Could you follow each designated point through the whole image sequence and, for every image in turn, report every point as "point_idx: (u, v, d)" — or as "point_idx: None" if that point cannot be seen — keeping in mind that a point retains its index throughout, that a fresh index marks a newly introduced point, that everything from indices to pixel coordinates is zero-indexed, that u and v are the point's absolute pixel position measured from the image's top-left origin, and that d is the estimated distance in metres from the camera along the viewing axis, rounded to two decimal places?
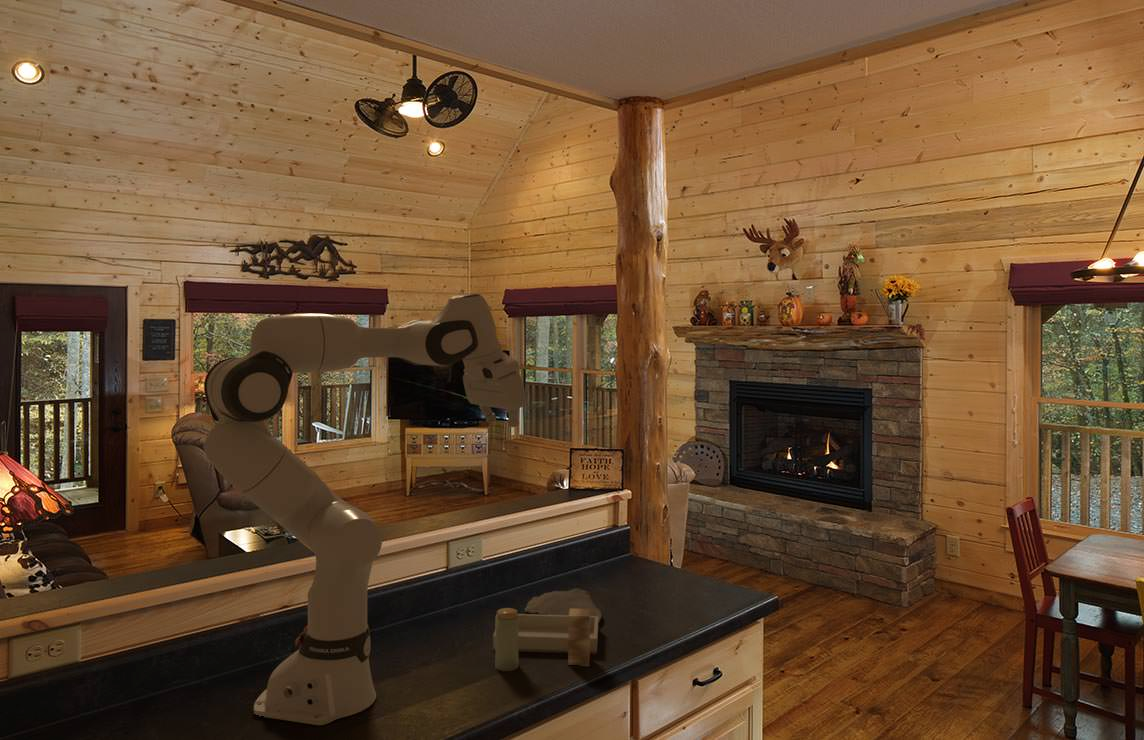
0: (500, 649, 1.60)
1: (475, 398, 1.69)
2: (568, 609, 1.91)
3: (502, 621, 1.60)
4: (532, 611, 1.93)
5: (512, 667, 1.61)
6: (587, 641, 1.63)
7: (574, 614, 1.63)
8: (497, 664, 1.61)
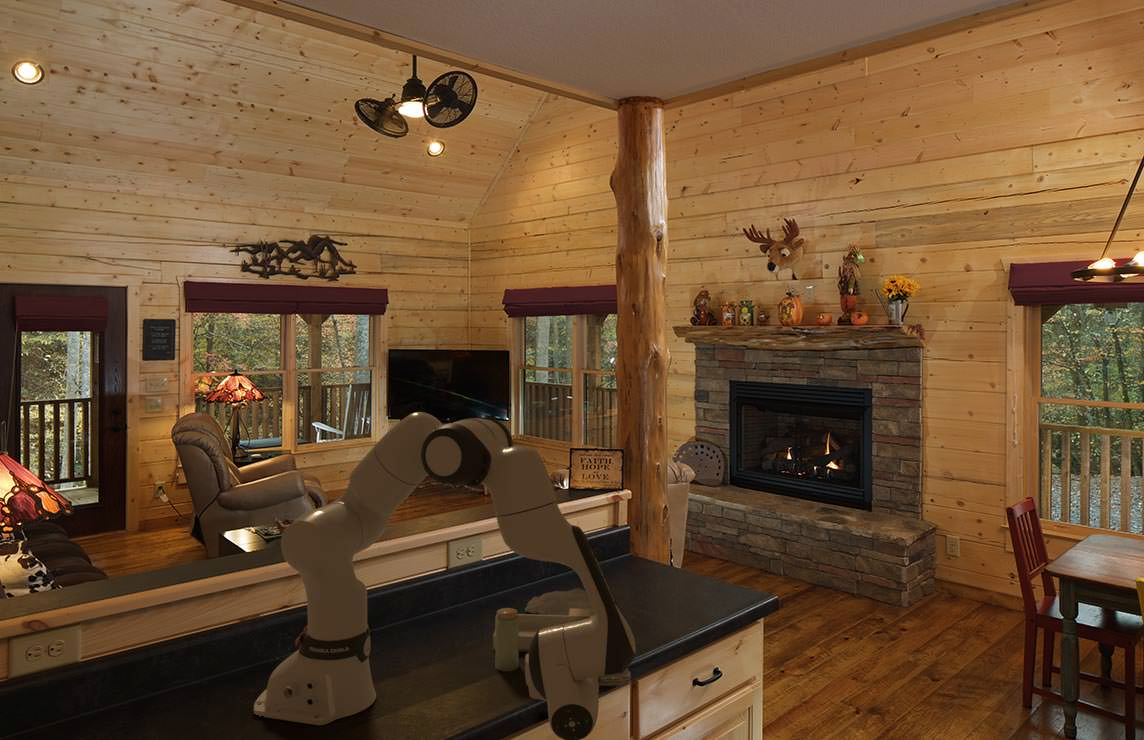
0: (500, 649, 1.60)
1: None
2: (568, 609, 1.91)
3: (502, 621, 1.60)
4: (532, 611, 1.93)
5: (512, 667, 1.61)
6: None
7: (574, 614, 1.63)
8: (497, 664, 1.61)
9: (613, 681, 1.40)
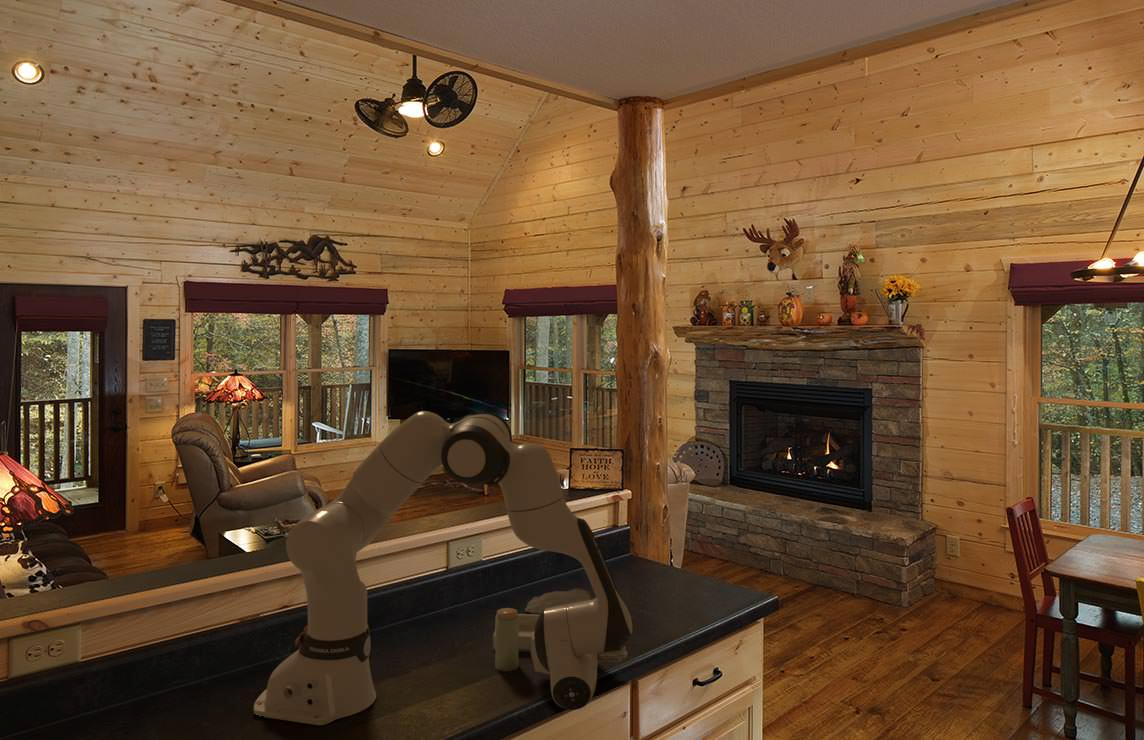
0: (500, 649, 1.60)
1: None
2: None
3: (502, 621, 1.60)
4: (532, 611, 1.93)
5: (512, 667, 1.61)
6: None
7: None
8: (497, 664, 1.61)
9: (611, 658, 1.52)
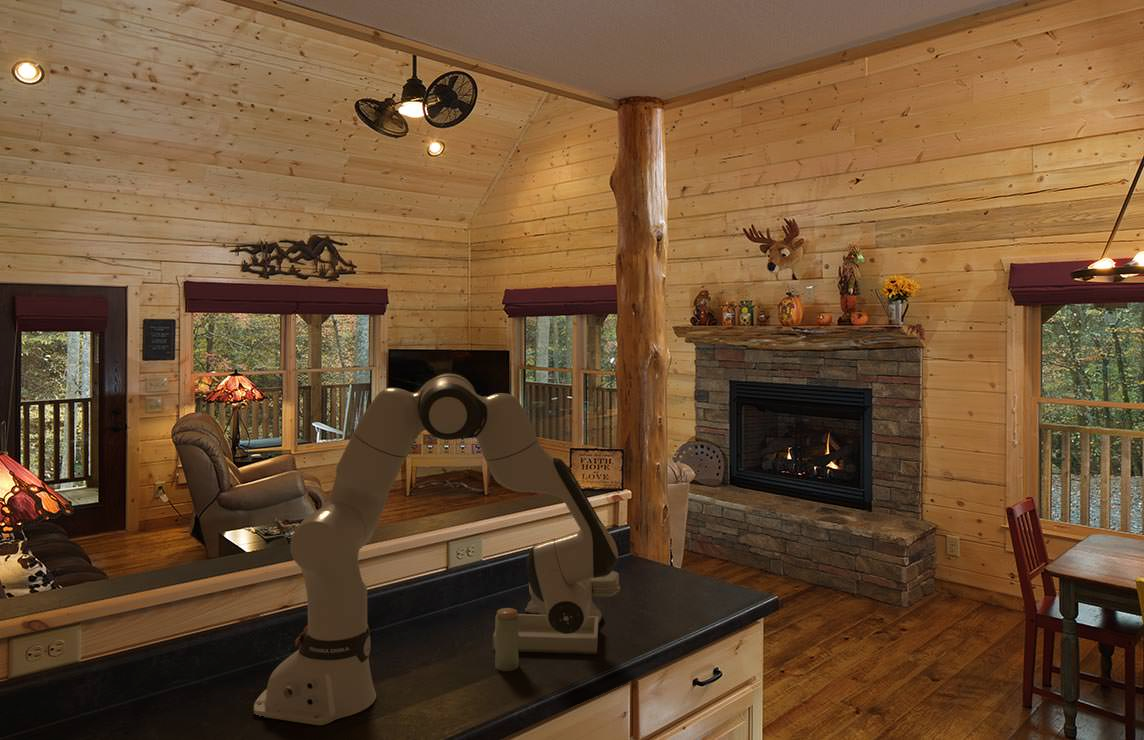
0: (500, 649, 1.60)
1: None
2: None
3: (502, 621, 1.60)
4: (532, 611, 1.93)
5: (512, 667, 1.61)
6: None
7: None
8: (497, 664, 1.61)
9: (604, 592, 1.61)
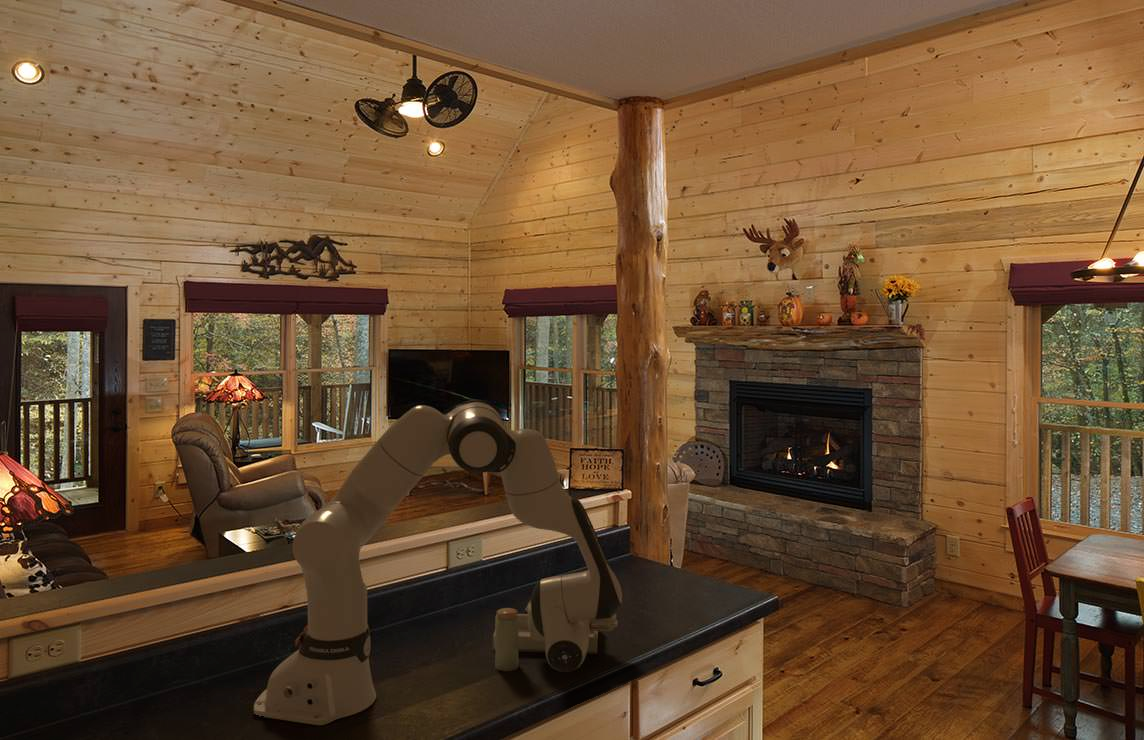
0: (500, 649, 1.60)
1: None
2: None
3: (502, 621, 1.60)
4: None
5: (512, 667, 1.61)
6: None
7: None
8: (497, 664, 1.61)
9: (602, 627, 1.63)
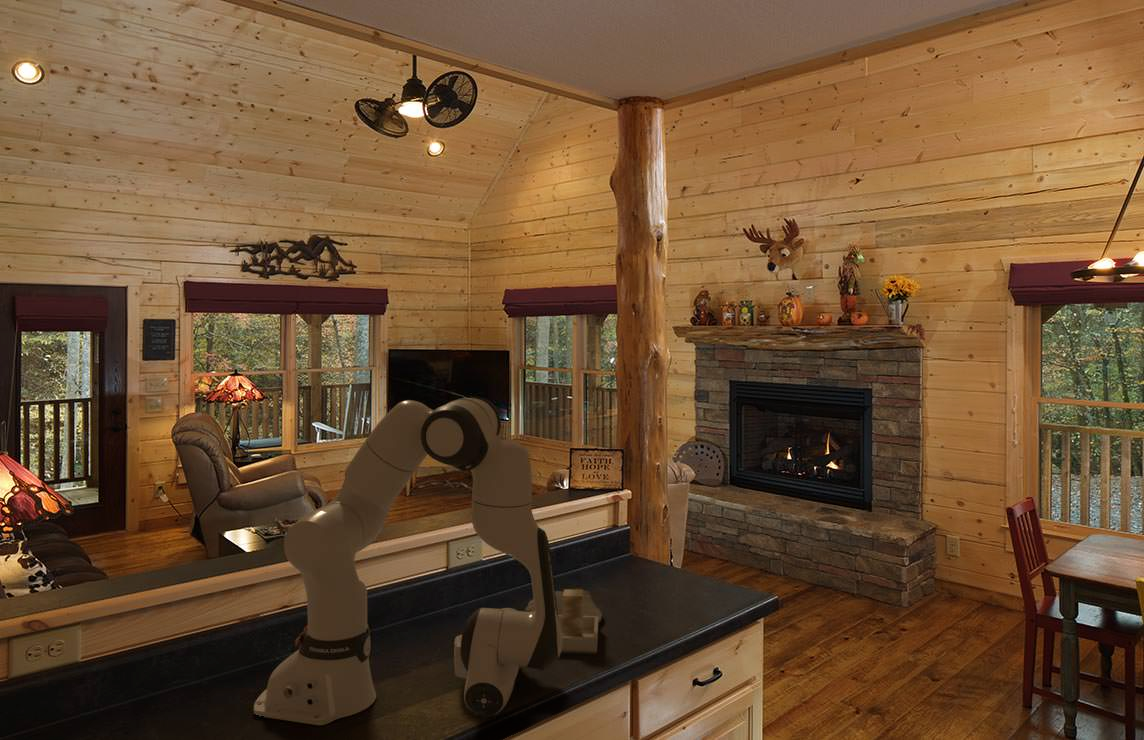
0: None
1: None
2: None
3: None
4: None
5: None
6: (580, 619, 1.74)
7: (568, 595, 1.74)
8: None
9: None
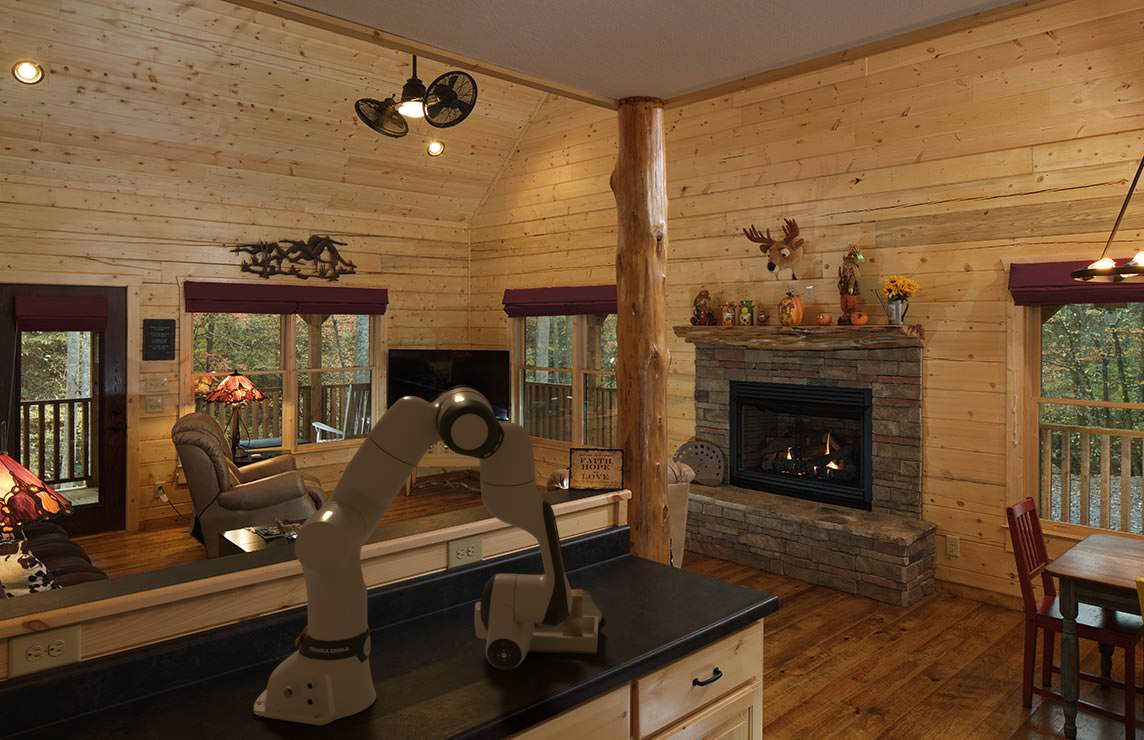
0: None
1: None
2: None
3: None
4: None
5: None
6: (580, 619, 1.74)
7: None
8: None
9: (547, 625, 1.64)
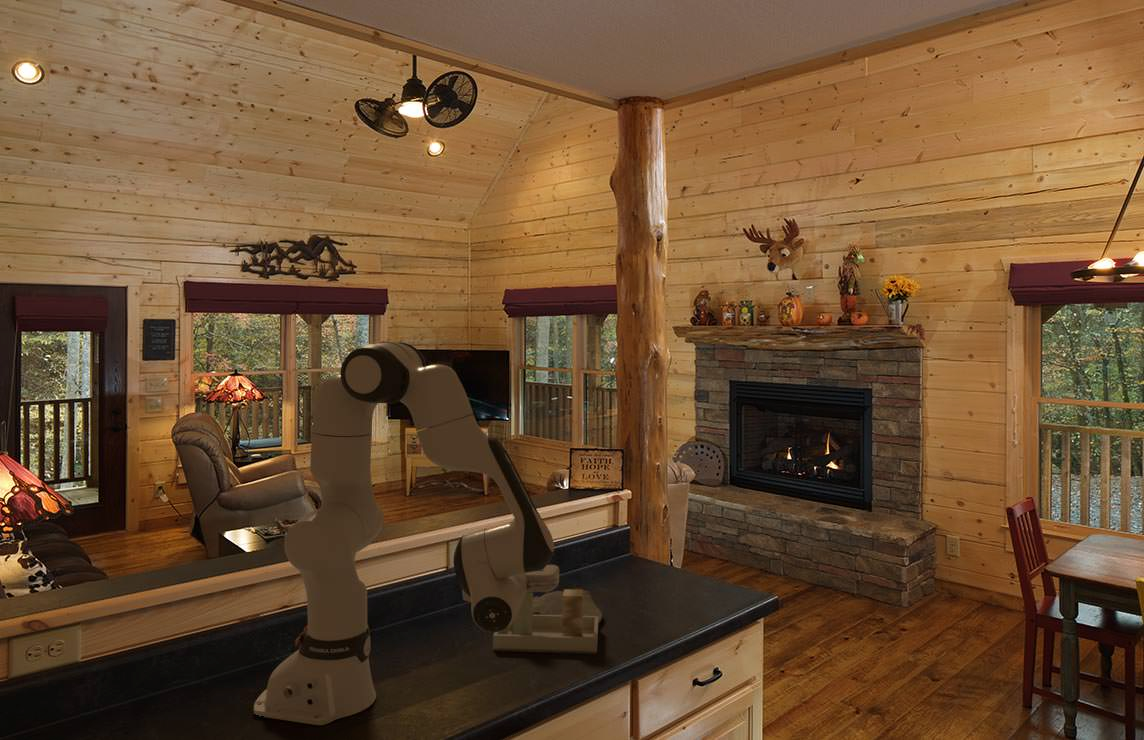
0: (516, 621, 1.75)
1: None
2: None
3: None
4: (533, 611, 1.93)
5: None
6: (580, 619, 1.74)
7: (568, 595, 1.74)
8: None
9: (541, 587, 1.49)
